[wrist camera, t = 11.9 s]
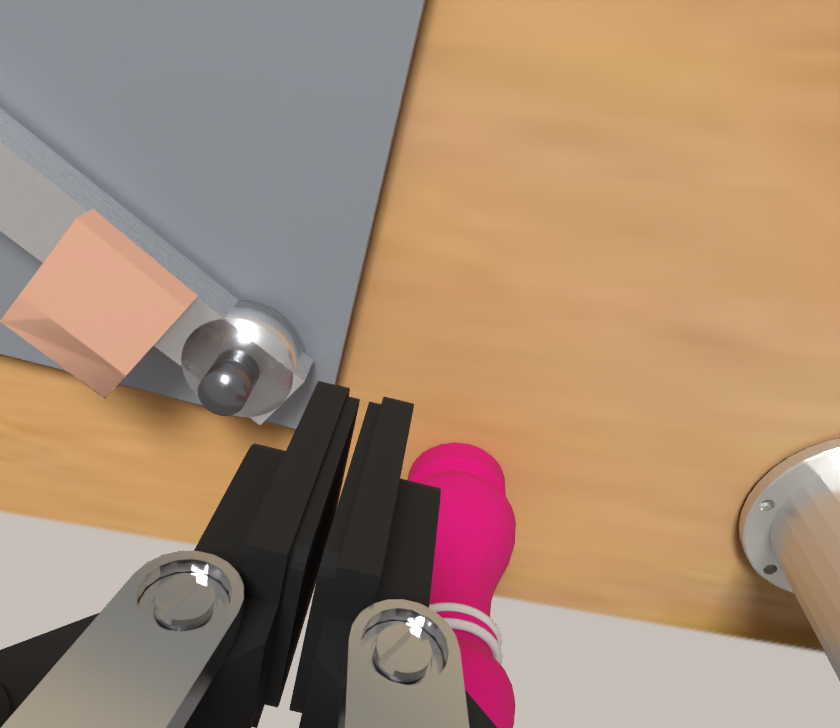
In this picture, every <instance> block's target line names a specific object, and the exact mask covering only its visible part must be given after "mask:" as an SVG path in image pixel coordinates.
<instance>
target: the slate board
mask: <svg viewBox="0 0 840 728" xmlns="http://www.w3.org/2000/svg"><path fill="white" fill-rule="evenodd" d="M425 2H426V0H0V108H1V109H2V110H4V111H5V112H6V113H7V114H9V115H10V116H11V117H12V118H13V119H15V120H16V121H17V122H18V123H20V124H21V125H22V126H23V127H25V128H26V129H27V130H28V131H30V132H31V133H32V134H33V135H35V136H36V137H37V138H38V139H40V140H41V141H42V142H43V143H45V144H46V145H47V146H48V147H49V148H51V149H52V150H53V151H54V152H56V153H57V154H58V155H59V156H61V157H62V158H63V159H64V160H66V161H67V162H68V163H69V164H71V165H72V166H73V167H74V168H76V169H77V170H78V171H79V172H81V173H82V174H83V175H84V176H86V177H87V178H88V179H89V180H90V181H92V182H93V183H94V184H95V185H97V186H98V187H99V188H100V189H102V190H103V191H104V192H105V193H107V194H108V195H109V196H110V197H112V198H113V199H114V200H115V201H117V202H118V203H119V204H120V205H122V206H123V207H124V208H125V209H126V210H128V211H129V212H130V213H131V214H133V215H134V216H135V217H136V218H138V219H139V220H140V221H141V222H143V223H144V224H145V225H146V226H148V227H149V228H150V229H151V230H153V231H154V232H155V233H156V234H158V235H159V236H160V237H161V238H163V239H164V240H165V241H166V242H167V243H169V244H170V245H171V246H172V247H174V248H175V249H176V250H177V251H179V252H180V253H181V254H182V255H184V256H185V257H186V258H187V259H189V260H190V261H191V262H192V263H194V264H195V265H196V266H197V267H199V268H200V269H201V270H202V271H203V272H205V273H206V274H207V275H208V276H210V277H211V278H212V279H213V280H215V281H216V282H217V283H218V284H220V285H221V286H222V287H223V288H225V289H226V290H227V291H228V292H230V293H231V294H232V295H233V296H235V297H236V298H237V299H238V300H251V301H256V302H260V303H263V304H265V305H268V306H270V307H272V308H274V309H275V310H277V311H278V312H280V313H281V314H282V315H283V316H285V317H286V318H287V319H288V320H289V321H290V323H291V324H292V325H293V326H294V328H295V329H296V331H297V333H298V335H299V337H300V340H301V343H302V348H303V352H304V353H305V354H307V355H308V356H309V357H310V358H312V359H313V363H312V365H311V367H310V370H309V372H308V374H307V377H306V379H305V381H304V383H303V384H302V385H301V386H300V387H298V388H297V389H296V390H295V391H294V392H293V393H292V394H291V395H290V396H289V397H288V398H287V399H286V400H285V401H284V402H283V403H282V404H281V405H280V406H279V407H278V408H277V409H276V410H275V411H274V412H273V413H272V414H271V415H270V416H269V417H268V418H267V419H266V420H265V421H266V422H270V423H274V424H278V425H282V426H285V427H289V428H293V429H296V428H297V426H298V424H299V422H300V420H301V417H302V415H303V413H304V411H305V409H306V406H307V404H308V402H309V400H310V398H311V395H312V393H313V391H314V389H315V387H316V384H317V383H318V381H322V382H326V383H330V384H334V385H336V382H337V377H338V373H339V369H340V365H341V360H342V356H343V352H344V348H345V343H346V339H347V335H348V330H349V326H350V322H351V318H352V313H353V309H354V305H355V301H356V296H357V292H358V288H359V284H360V279H361V275H362V271H363V267H364V262H365V258H366V254H367V249H368V245H369V241H370V237H371V232H372V228H373V224H374V220H375V215H376V211H377V207H378V203H379V198H380V194H381V190H382V186H383V181H384V177H385V173H386V168H387V164H388V160H389V156H390V151H391V147H392V143H393V139H394V134H395V130H396V126H397V122H398V117H399V113H400V109H401V105H402V100H403V96H404V92H405V87H406V83H407V79H408V75H409V70H410V66H411V62H412V58H413V53H414V49H415V45H416V41H417V36H418V32H419V28H420V24H421V19H422V15H423V11H424V6H425ZM42 264H43V263H42V262H41V261H40V260H38V259H37V258H36V257H34V256H33V255H32V254H30V253H29V252H28V251H26V250H25V249H24V248H22V247H21V246H20V245H18V244H17V243H16V242H14V241H13V240H12V239H10V238H9V237H8V236H6V235H5V234H4V233H2V232H1V231H0V320H1V319H2V318H3V316H4V315H5V313H6V312H7V311H8V309H9V308H10V307H11V305H12V304H13V303H14V301H15V300H16V299H17V297H18V296H19V295H20V293H21V292H22V291H23V289H24V288H25V287H26V285H27V284H28V283H29V281H30V280H31V279H32V277H33V276H34V275H35V273H36V272H37V271H38V269H39V268H40V266H41V265H42ZM0 354H3V355H7V356H11V357H14V358H18V359H22V360H26V361H30V362H34V363H38V364H42V365H46V366H50V367H54V368H58V369H62V370H65V369H64V368H62V367H61V366H60V365H58V364H57V363H55V362H54V361H53V360H51V359H50V358H49V357H47V356H46V355H45V354H43V353H42V352H41V351H39V350H38V349H37V348H35V347H34V346H32V345H31V344H30V343H28V342H27V341H26V340H24V339H23V338H22V337H20V336H19V335H18V334H16V333H15V332H13V331H12V330H11V329H9V328H8V327H7V326H5V325H4V324H3V323H1V322H0ZM119 384H121V385H124V386H128V387H132V388H136V389H140V390H144V391H148V392H152V393H156V394H160V395H164V396H168V397H172V398H175V399H179V400H183V401H187V402H191V403H195V404H199V405H202V403H201V402H200V400H199V397H198V396H197V395H196V394H195V393H194V392H193V390H192V389H191V388H190V386H189V384H188V383H187V381H186V379H185V376H184V373H183V370H182V367H181V366H180V365H179V364H177V363H176V362H175V361H173V360H172V359H171V358H169V357H168V356H167V355H165V354H164V353H163V352H161V351H160V350H159V349H157V348H156V347H155V346H152V347H151V349H150V350H149V351H148V352H147V353H146V354H145V355H144V356H143V357H142V359H141V360H140V361H139V362H138V363H137V364H136V365H135V366H134V367H133V368H132V370H131V371H130V372H129V373H128V374H127V375H126V376H125V377H124V378H123V380H122V381H121V382H120V383H119Z"/></svg>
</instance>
